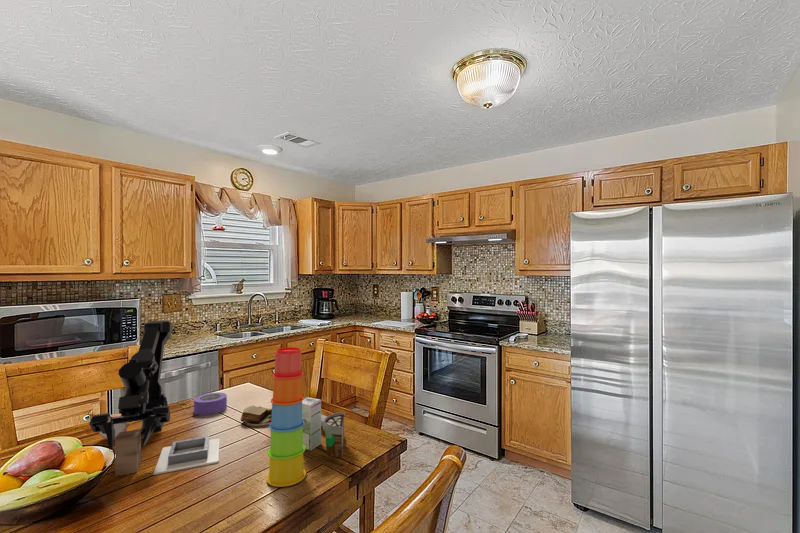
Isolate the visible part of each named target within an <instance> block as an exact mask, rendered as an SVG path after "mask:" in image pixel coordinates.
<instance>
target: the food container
mask: <svg viewBox="0 0 800 533" xmlns="http://www.w3.org/2000/svg"><path fill="white" fill-rule="evenodd" d="M322 430H323V431H324V436H325V449H326V450H325V451H326V455H327V457H329V458H330V459H334V460H343V455H342V454H343V453H344V448H343V447H345V412H342V411H341V412H335V413H332V414H330V415H327V417H326V418H325V421H324V423H323V426H322Z"/></svg>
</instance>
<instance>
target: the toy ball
mask: <svg viewBox="0 0 800 533" xmlns="http://www.w3.org/2000/svg"><path fill="white" fill-rule="evenodd" d="M109 415H110V417H118V416H121V414H119V413H114V414H113V413H112V414H109ZM129 423H130V422H126V423H119V424H114V426H113V427H114V429H115V437H114V440H115V439H116V437H117V436H118V434H119V433H120V432H125V431H128V428H129ZM98 434H99V436H100V437H101V438H102V439H103V440H104V439H105V440H107V435H106V434H102V432H98Z"/></svg>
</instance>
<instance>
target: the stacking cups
mask: <svg viewBox="0 0 800 533" xmlns="http://www.w3.org/2000/svg"><path fill="white" fill-rule="evenodd" d="M302 355H303V353H302V350H301V348H300V347H295V346H294V347H293V346H290V347H288V346H287V347H280V348H277V349H276V351H275V354H274V373H272V377H273V386H272V388H273V389H272V398H270V403H271V409H272V423H271V424H270V425H269V426H268V428H269V430H270V440H269V441H270V442H269V444H270V447H269V449H267V450H268V451H267V455H268V457H269V470H268V471H269V472H268V474H267V476H266V482H267V484H269V485H270V486H272V487H276V488H283V487H284V488H286V487H290V486H294V485H296V484H299V483H300V482H302V481H303V480H304V479H305V477H306V474H307V471H306V470H305V468H304V452H305V451H306V449H305V446H304V445H303V426H304V421H303V420H302V401H303V400H304V398H305V397H304V396H303V387H302V386H303V377H302V376H304V372H302V366H303V364H302Z"/></svg>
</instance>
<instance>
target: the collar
mask: <svg viewBox="0 0 800 533" xmlns="http://www.w3.org/2000/svg"><path fill="white" fill-rule="evenodd" d="M209 440H210V435H208V436H207V435H206V436H200V437H194V438H189V439H183V440H182V439H181V440H175V441H172V444H171V449H170V452H169V455H168V465H174V464H179V463H185V462H190V461H196V460H201V459H207V458H208V450H209ZM201 446H204V449H201V450H195V451H190V452H184V453H178V454H175V453H176V451H178V450H183V449H189V448H195V447H201Z"/></svg>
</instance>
